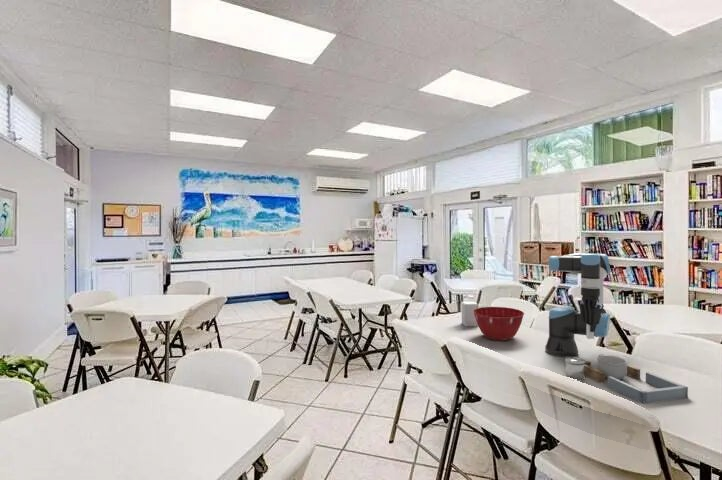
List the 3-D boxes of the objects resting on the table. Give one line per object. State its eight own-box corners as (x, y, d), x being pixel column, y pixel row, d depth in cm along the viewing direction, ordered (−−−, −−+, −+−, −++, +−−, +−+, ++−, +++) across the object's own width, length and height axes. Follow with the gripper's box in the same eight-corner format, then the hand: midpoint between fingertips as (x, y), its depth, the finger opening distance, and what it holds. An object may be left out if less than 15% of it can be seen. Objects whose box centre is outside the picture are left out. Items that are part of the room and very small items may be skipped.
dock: (607, 386, 155) (607, 376, 155) (648, 381, 159) (648, 372, 159) (643, 403, 140) (643, 392, 140) (687, 397, 144) (687, 387, 144)
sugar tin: (561, 375, 168) (561, 357, 168) (575, 373, 169) (575, 356, 169) (573, 382, 161) (573, 363, 160) (589, 380, 162) (589, 362, 162)
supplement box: (478, 326, 252) (478, 303, 252) (464, 326, 252) (464, 304, 252) (474, 323, 261) (474, 301, 261) (461, 323, 262) (461, 301, 261)
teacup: (632, 383, 158) (632, 364, 158) (603, 381, 160) (603, 362, 160) (616, 370, 172) (616, 353, 172) (590, 369, 174) (590, 352, 174)
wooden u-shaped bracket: (576, 370, 173) (576, 362, 172) (612, 367, 176) (612, 358, 176) (601, 383, 159) (601, 373, 159) (640, 378, 163) (640, 369, 163)
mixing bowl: (493, 346, 209) (493, 318, 209) (463, 333, 236) (463, 308, 236) (535, 341, 218) (535, 314, 217) (502, 329, 245) (501, 305, 245)
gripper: (572, 285, 181) (572, 335, 182) (594, 289, 169) (594, 342, 169) (586, 285, 183) (586, 334, 184) (609, 289, 170) (608, 341, 171)
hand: (590, 338), depth 176 cm, fingers closed
